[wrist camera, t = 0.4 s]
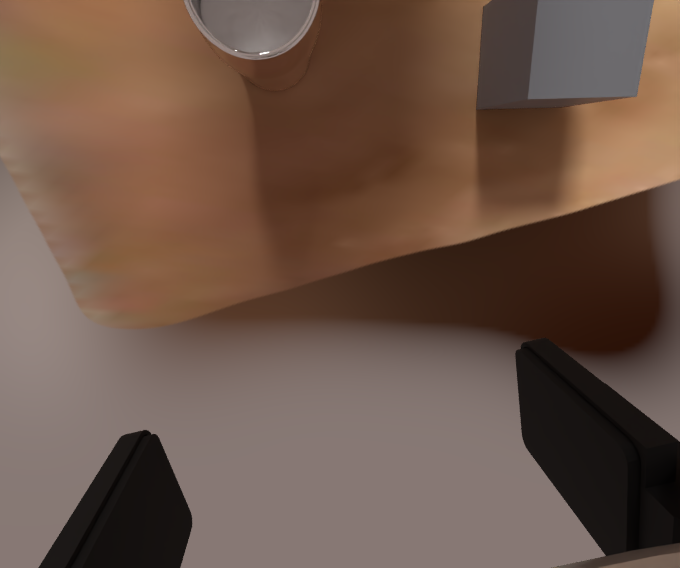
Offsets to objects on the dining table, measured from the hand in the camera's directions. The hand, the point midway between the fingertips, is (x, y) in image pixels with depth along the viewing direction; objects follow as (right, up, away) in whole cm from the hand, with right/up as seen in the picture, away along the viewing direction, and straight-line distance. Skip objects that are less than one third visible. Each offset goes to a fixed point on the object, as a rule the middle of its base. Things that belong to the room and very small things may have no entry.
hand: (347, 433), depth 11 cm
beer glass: (-6, +23, +23) cm, 33 cm away
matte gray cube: (+15, +23, +25) cm, 37 cm away
